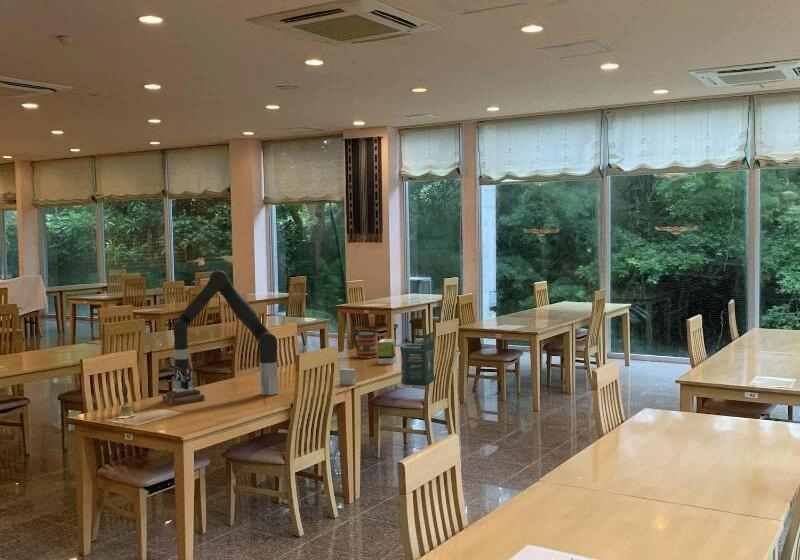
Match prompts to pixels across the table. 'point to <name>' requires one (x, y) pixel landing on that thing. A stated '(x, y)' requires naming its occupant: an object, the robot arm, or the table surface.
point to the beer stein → (365, 344)
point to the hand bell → (125, 403)
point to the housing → (181, 386)
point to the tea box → (386, 351)
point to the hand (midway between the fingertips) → (182, 388)
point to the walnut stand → (183, 397)
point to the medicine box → (347, 377)
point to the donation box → (418, 362)
